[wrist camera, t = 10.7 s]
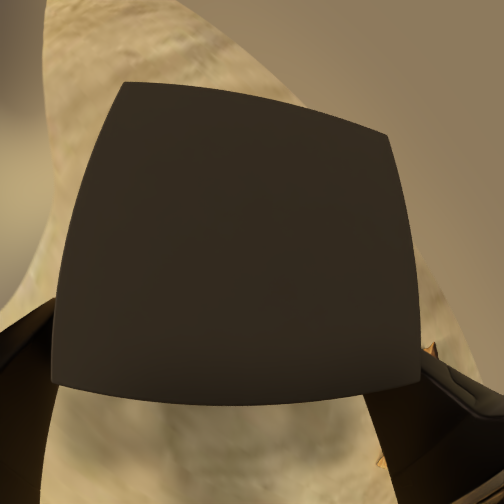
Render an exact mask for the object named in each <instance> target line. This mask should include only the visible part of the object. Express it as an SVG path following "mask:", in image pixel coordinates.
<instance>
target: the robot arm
mask: <svg viewBox="0 0 504 504" xmlns="http://www.w3.org/2000/svg"><path fill="white" fill-rule="evenodd" d="M55 300H56V298H52V299H50V300H49V301H47V302H46V303H44V304H43V305H41V306H39V307H38V308H36V309H35V310H33V311H32V312H30V313H29V314H27V315H26V316H24V317H23V318H21V319H20V320H18V321H17V322H15V323H14V324H12V325H11V326H9V327H8V328H6V329H5V330H3V331H2V332H1V333H0V504H40V489H41V478H42V469H43V462H44V455H45V448H46V442H47V437H48V431H49V426H50V421H51V417H52V412H53V408H54V404H55V399H56V395H57V392H58V388H59V385H57V384H54V383H52V381H51V348H52V331H53V319H54V309H55ZM363 397H364V400H365V402H366V405H367V408H368V411H369V414H370V416H371V419H372V422H373V425H374V428H375V431H376V434H377V437H378V440H379V443H380V446H381V449H382V452H383V455H384V458H385V461H386V464H387V468H388V471H389V474H390V477H391V481H392V484H393V488H394V491H395V495H396V498H397V502H398V504H504V395H501V394H499V393H497V392H495V391H493V390H491V389H489V388H487V387H485V386H483V385H482V384H480V383H478V382H476V381H474V380H472V379H470V378H469V377H467V376H465V375H463V374H462V373H460V372H458V371H457V370H455V369H453V368H452V367H450V366H449V365H447V364H445V363H444V362H442V361H440V360H439V359H437V358H436V357H434V356H432V355H431V354H429V353H428V352H426V351H424V350H423V349H421V376H420V381H419V382H417V383H413V384H409V385H405V386H401V387H397V388H393V389H388V390H383V391H378V392H373V393H368V394H363Z"/></svg>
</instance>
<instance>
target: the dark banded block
mask: <svg viewBox="0 0 504 504" xmlns="http://www.w3.org/2000/svg"><path fill="white" fill-rule="evenodd" d="M420 376H421V326H420V307H419V293H418V282H417V273H416V264H415V257H414V250H413V243H412V237H411V231H410V225H409V220H408V214H407V209H406V205H405V200H404V195H403V191H402V187H401V183H400V179H399V174H398V170H397V167H396V163H395V160H394V156H393V152H392V149H391V146H390V142H389V139H388V136H387V135H385V134H383V133H380V132H378V131H375V130H372V129H370V128H367V127H364V126H361V125H358V124H356V123H353V122H350V121H347V120H344V119H341V118H338V117H334V116H332V115H328V114H325V113H322V112H318V111H315V110H311V109H308V108H304V107H300V106H296V105H293V104H289V103H284V102H280V101H276V100H272V99H267V98H262V97H258V96H253V95H247V94H242V93H236V92H231V91H224V90H218V89H211V88H203V87H195V86H186V85H176V84H163V83H147V82H124V83H123V84H122V86H121V88H120V90H119V92H118V94H117V96H116V98H115V100H114V102H113V104H112V106H111V108H110V111H109V113H108V115H107V117H106V119H105V122H104V124H103V126H102V129H101V131H100V133H99V136H98V138H97V141H96V143H95V146H94V149H93V151H92V154H91V157H90V159H89V162H88V165H87V168H86V171H85V173H84V176H83V180H82V183H81V186H80V189H79V192H78V195H77V199H76V202H75V206H74V209H73V213H72V217H71V221H70V225H69V229H68V233H67V237H66V242H65V247H64V251H63V256H62V262H61V267H60V273H59V279H58V285H57V292H56V300H55V309H54V319H53V331H52V348H51V381H52V383H54V384H57V385H61V386H65V387H69V388H73V389H78V390H82V391H87V392H92V393H97V394H102V395H108V396H114V397H120V398H127V399H134V400H142V401H151V402H160V403H171V404H185V405H206V406H257V405H278V404H292V403H304V402H314V401H322V400H330V399H338V398H344V397H351V396H357V395H363V394H368V393H373V392H378V391H383V390H388V389H393V388H397V387H401V386H405V385H409V384H413V383H417V382H419V381H420Z"/></svg>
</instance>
